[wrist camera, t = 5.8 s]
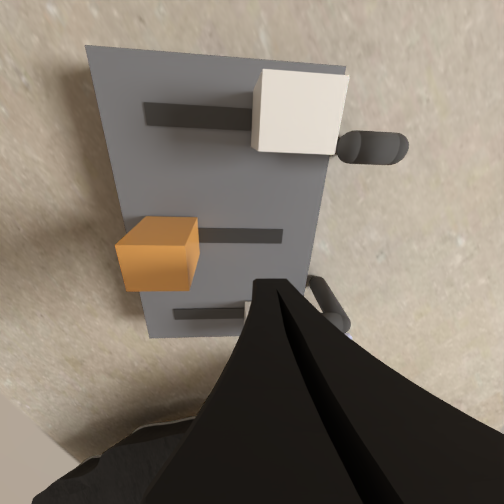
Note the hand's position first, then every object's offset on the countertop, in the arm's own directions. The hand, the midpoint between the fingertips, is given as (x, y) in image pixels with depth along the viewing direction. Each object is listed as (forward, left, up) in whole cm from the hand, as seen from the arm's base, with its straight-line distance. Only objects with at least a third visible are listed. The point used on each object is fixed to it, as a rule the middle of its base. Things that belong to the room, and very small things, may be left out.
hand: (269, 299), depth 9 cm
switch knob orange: (0, +5, -6) cm, 8 cm away
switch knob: (+7, -1, -6) cm, 9 cm away
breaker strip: (0, +2, -9) cm, 10 cm away
